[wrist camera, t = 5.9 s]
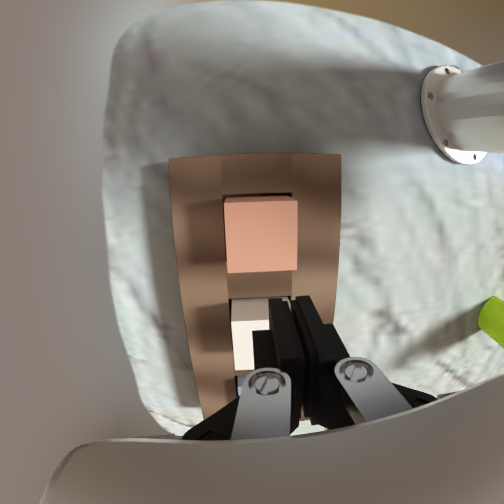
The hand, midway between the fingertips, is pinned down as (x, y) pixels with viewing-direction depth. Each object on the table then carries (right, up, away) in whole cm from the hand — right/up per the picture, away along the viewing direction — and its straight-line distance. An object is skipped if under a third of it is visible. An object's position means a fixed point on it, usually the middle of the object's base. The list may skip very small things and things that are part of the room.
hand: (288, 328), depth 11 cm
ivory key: (-1, -3, +15) cm, 15 cm away
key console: (-1, -2, +18) cm, 18 cm away
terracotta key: (-1, +5, +12) cm, 13 cm away
